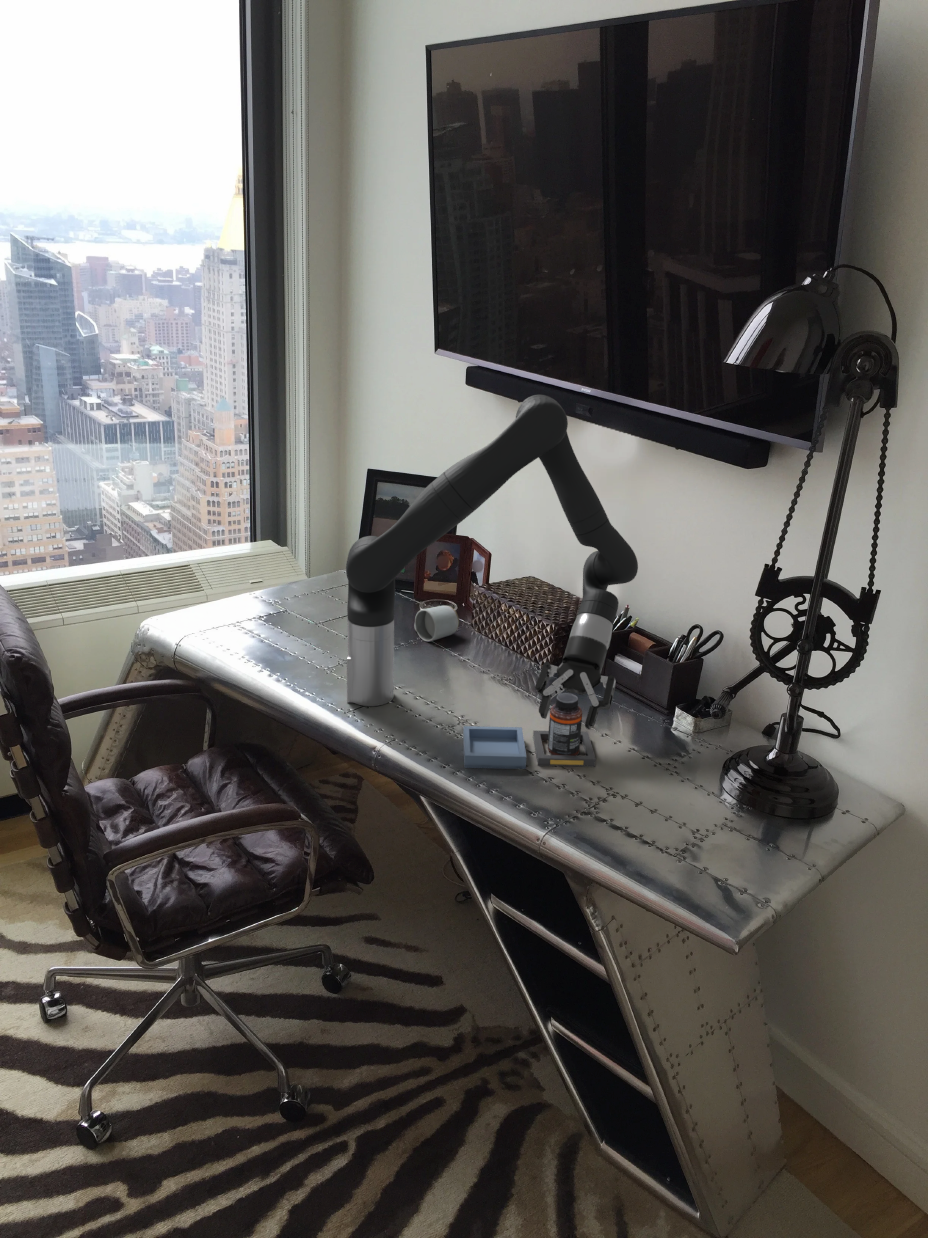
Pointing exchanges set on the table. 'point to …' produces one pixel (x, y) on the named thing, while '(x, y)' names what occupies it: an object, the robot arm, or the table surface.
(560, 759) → the frame
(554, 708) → the supplement bottle
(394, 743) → the table surface
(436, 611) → the ceramic mug
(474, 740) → the tray
